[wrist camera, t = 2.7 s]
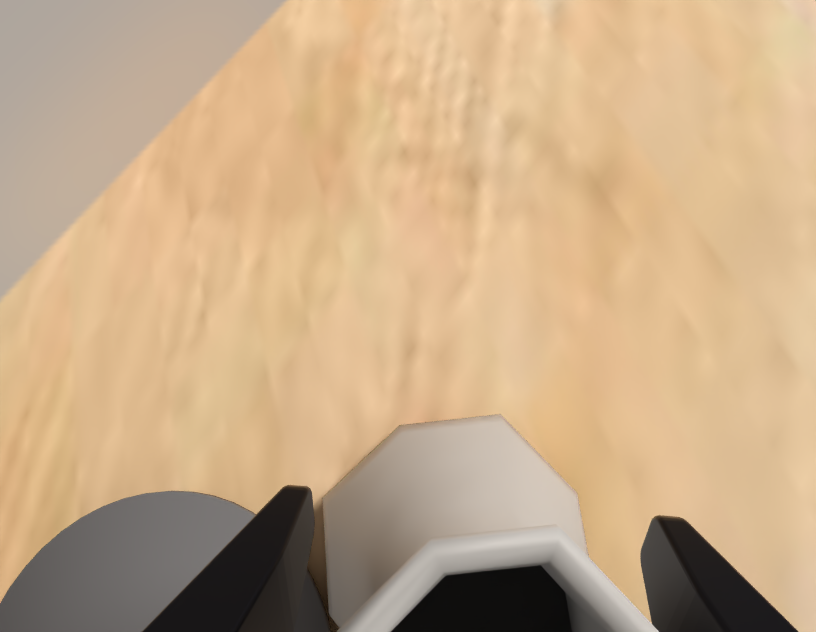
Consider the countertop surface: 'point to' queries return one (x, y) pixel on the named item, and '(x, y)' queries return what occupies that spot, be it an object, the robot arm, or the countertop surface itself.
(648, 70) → the countertop surface
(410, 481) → the flask
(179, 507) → the rubber mat
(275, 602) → the robot arm
